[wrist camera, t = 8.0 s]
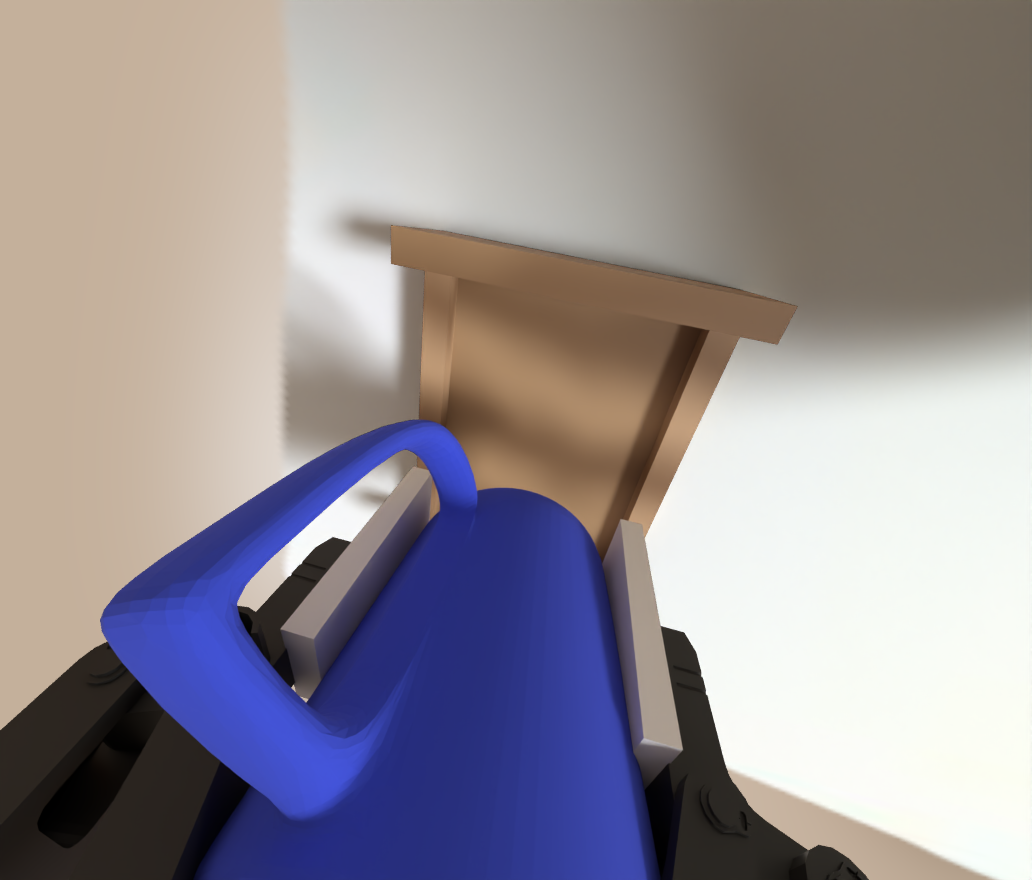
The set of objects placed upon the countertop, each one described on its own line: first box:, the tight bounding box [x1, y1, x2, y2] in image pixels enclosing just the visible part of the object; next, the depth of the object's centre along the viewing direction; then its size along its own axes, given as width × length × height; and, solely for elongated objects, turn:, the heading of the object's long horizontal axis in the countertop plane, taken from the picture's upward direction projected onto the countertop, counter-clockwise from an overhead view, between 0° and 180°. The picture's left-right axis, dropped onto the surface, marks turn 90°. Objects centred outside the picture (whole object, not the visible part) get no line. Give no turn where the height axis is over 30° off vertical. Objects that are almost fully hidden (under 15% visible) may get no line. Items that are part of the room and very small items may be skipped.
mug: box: [100, 420, 661, 880], centre depth 10 cm, size 8×12×10 cm
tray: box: [391, 225, 798, 563], centre depth 18 cm, size 17×13×5 cm
